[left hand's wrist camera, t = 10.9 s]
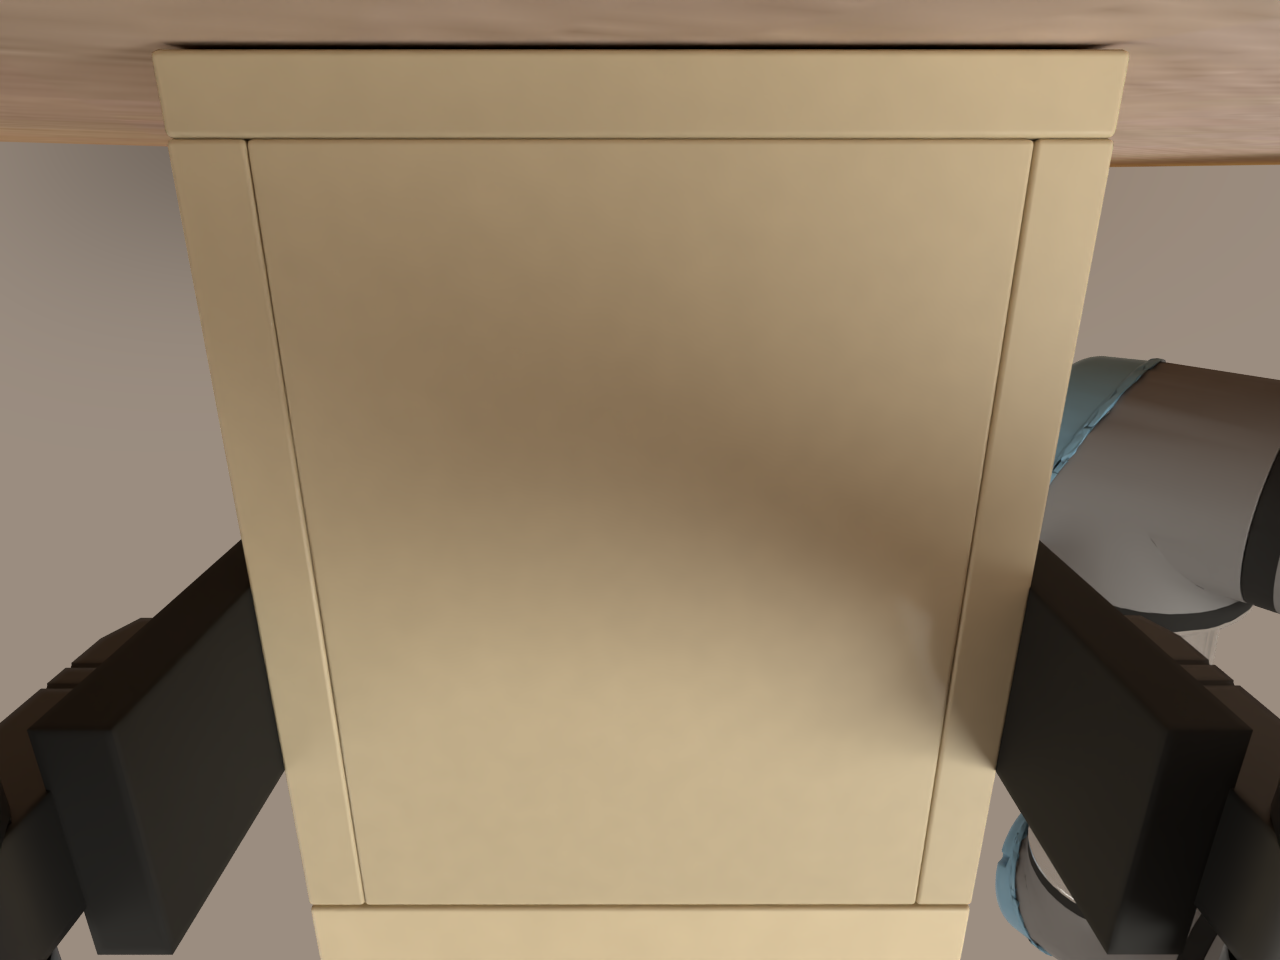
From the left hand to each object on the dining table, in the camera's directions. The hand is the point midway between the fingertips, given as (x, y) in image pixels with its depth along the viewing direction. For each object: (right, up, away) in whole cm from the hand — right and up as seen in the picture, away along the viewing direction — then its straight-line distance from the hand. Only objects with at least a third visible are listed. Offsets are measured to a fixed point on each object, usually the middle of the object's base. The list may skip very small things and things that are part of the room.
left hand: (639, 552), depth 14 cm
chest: (0, +8, 0) cm, 8 cm away
